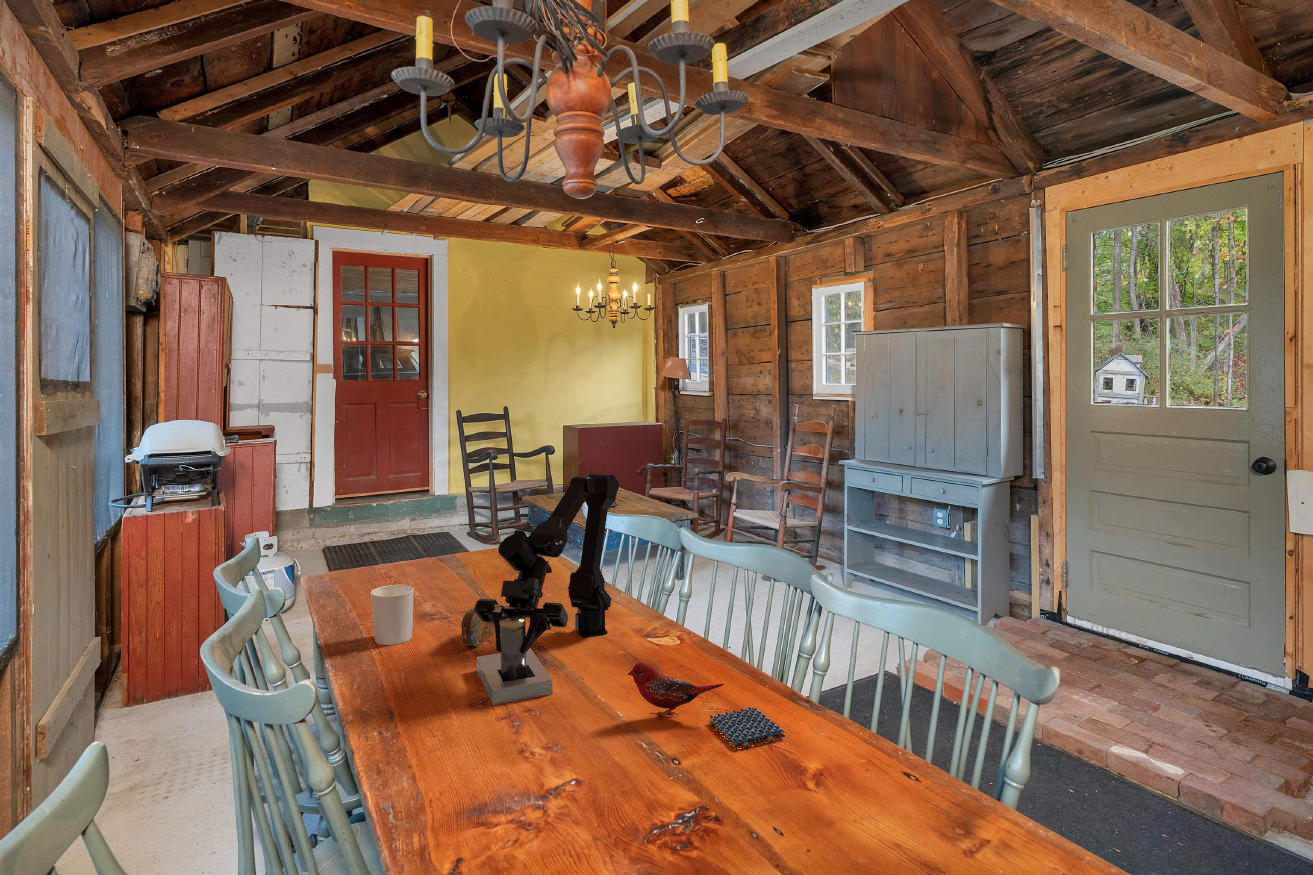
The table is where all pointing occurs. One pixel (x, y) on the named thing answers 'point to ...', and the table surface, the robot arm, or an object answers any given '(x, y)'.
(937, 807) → the table surface
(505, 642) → the end plug
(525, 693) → the housing block
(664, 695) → the decorative bird figurine
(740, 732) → the woven mat
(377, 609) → the white paper cup
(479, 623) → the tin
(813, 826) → the table surface
